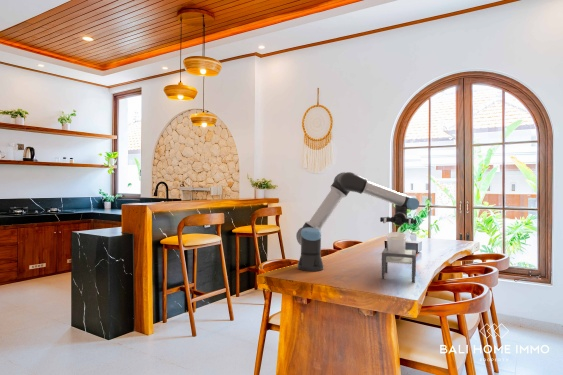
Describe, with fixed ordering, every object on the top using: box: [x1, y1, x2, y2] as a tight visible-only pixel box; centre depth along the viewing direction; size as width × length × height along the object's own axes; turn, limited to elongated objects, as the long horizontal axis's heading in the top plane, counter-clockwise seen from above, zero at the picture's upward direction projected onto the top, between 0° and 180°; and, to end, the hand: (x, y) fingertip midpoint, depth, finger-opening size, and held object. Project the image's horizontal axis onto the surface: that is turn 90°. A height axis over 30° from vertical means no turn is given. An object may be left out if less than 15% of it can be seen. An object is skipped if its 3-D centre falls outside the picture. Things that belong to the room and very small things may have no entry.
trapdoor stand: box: [381, 247, 417, 284], centre depth 208 cm, size 17×18×14 cm
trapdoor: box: [386, 249, 414, 265], centre depth 209 cm, size 13×14×1 cm
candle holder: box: [386, 231, 407, 260], centre depth 206 cm, size 10×10×12 cm
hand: (396, 221), depth 218 cm, fingers open, 13 cm apart
